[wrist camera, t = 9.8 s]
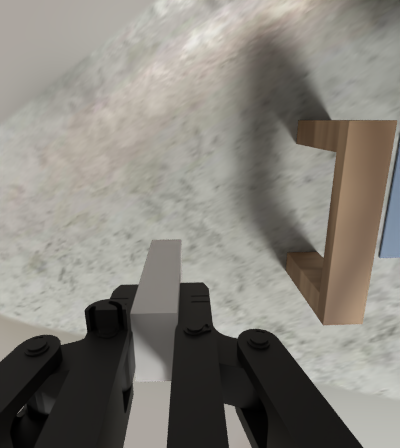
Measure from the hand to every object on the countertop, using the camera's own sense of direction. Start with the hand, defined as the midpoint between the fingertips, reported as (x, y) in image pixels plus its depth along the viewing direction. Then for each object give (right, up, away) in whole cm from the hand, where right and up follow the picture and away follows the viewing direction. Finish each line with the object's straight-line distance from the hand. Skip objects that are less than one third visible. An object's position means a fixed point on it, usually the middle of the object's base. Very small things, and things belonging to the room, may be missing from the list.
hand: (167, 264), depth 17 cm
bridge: (+12, +4, +14) cm, 19 cm away
